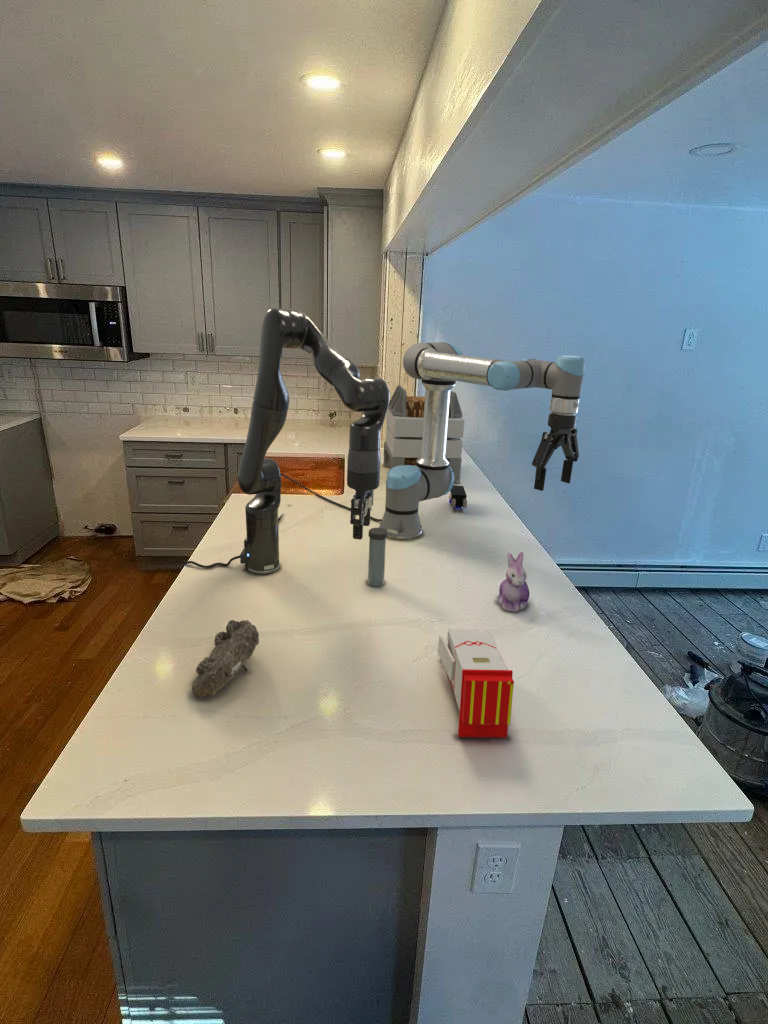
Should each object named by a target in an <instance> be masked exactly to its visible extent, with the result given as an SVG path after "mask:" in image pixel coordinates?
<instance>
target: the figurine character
mask: <svg viewBox="0 0 768 1024" xmlns="http://www.w3.org/2000/svg"><path fill="white" fill-rule="evenodd" d="M467 495H468V494H467V493H466V490H465V487H464V485H456V484H455V485H454V484H453V487H452V489H451V490H450V491H449V496H448V499H449V500H448V504H449V506H450V507H451V508H452V510H453V512H456V510H458V509H459V510H460V512H463V509H464V508H465V509H466V508H467V506H468V499H467V497H468V496H467Z"/></svg>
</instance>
